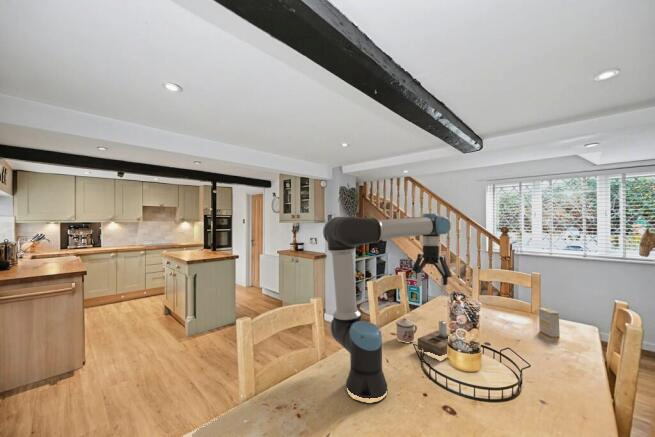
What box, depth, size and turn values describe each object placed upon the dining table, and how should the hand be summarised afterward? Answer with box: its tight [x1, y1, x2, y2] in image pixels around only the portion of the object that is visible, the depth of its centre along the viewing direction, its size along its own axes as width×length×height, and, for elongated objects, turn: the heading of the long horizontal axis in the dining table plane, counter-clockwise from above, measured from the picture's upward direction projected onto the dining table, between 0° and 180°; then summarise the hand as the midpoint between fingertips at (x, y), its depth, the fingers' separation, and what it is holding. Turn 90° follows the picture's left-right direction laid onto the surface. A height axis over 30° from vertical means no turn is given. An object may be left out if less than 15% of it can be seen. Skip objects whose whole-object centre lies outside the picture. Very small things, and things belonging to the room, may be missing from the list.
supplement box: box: [538, 307, 560, 338], centre depth 143 cm, size 8×5×13 cm, turn 179°
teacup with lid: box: [395, 316, 418, 342], centre depth 139 cm, size 12×9×12 cm
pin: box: [438, 320, 448, 340], centre depth 128 cm, size 3×3×12 cm
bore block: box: [417, 330, 450, 356], centre depth 126 cm, size 16×12×6 cm
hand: (430, 288), depth 129 cm, fingers open, 13 cm apart
